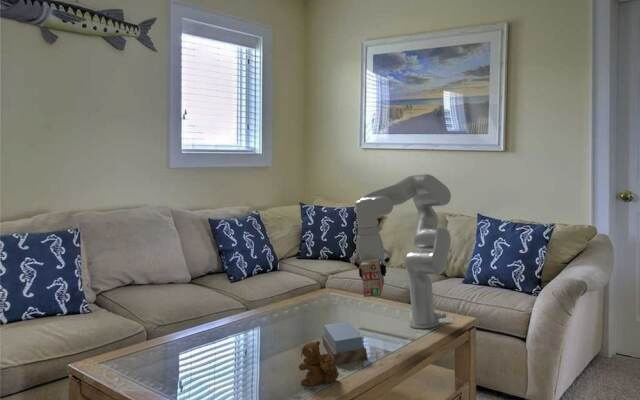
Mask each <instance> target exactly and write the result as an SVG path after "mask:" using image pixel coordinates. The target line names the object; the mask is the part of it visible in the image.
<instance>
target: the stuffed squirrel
mask: <svg viewBox="0 0 640 400" xmlns="http://www.w3.org/2000/svg"><path fill="white" fill-rule="evenodd" d="M320 343H321V341H319V340H317V341H312V342H307V343H306V344H305V345H303V346H302V348H301V353H300V357H301V358H303V357H304V358H303V362H302V363H300V364H299V365H298V369H299V370H300V371H306V370H307V372H306V375H305V378H303V379H301V380H300V385H302V386H316V385H319V384H322V383H324V384H331V383H332V382H335V381H336V380H337V379H338V377H339V375H340V373H339V370H338V367H337V365H335V362H334V361H333V359H332V358H331V356H330V354H328V353H323V354H321V353H320V352H321V351H320ZM330 382H331V383H330Z"/></svg>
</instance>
